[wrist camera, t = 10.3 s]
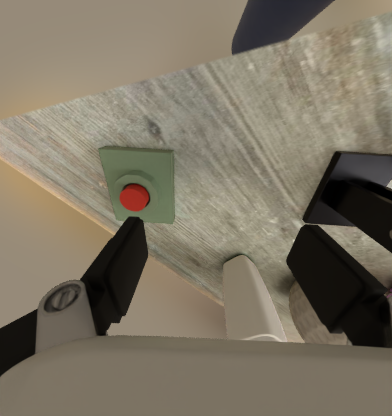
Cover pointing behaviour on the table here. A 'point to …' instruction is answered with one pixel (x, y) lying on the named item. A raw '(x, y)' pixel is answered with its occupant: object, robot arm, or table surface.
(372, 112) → the table surface
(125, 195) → the button
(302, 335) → the vase
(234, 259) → the cup
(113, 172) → the button box
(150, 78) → the table surface
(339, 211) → the bracket
